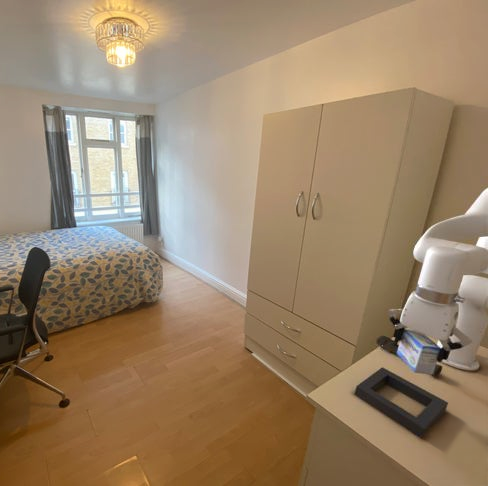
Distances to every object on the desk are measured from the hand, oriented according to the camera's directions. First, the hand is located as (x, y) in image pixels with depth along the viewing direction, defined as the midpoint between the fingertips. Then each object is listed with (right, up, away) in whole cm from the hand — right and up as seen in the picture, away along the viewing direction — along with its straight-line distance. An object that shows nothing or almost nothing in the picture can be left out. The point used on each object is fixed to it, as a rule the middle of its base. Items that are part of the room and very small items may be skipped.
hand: (418, 349), depth 76 cm
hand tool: (+16, -12, +22) cm, 30 cm away
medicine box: (0, -5, +2) cm, 5 cm away
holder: (-2, -17, +5) cm, 18 cm away
